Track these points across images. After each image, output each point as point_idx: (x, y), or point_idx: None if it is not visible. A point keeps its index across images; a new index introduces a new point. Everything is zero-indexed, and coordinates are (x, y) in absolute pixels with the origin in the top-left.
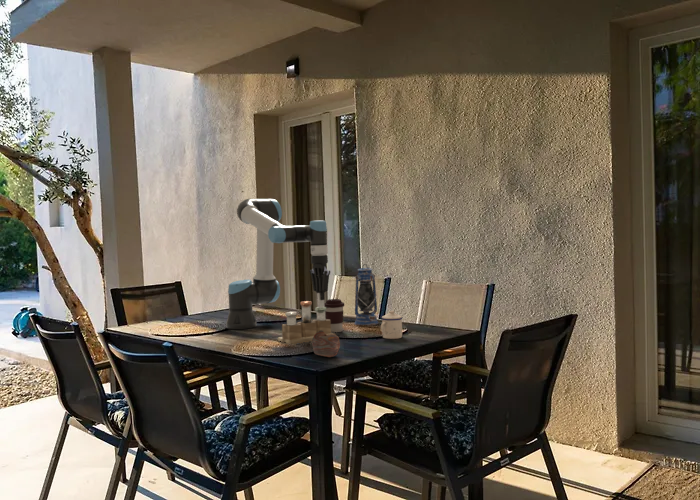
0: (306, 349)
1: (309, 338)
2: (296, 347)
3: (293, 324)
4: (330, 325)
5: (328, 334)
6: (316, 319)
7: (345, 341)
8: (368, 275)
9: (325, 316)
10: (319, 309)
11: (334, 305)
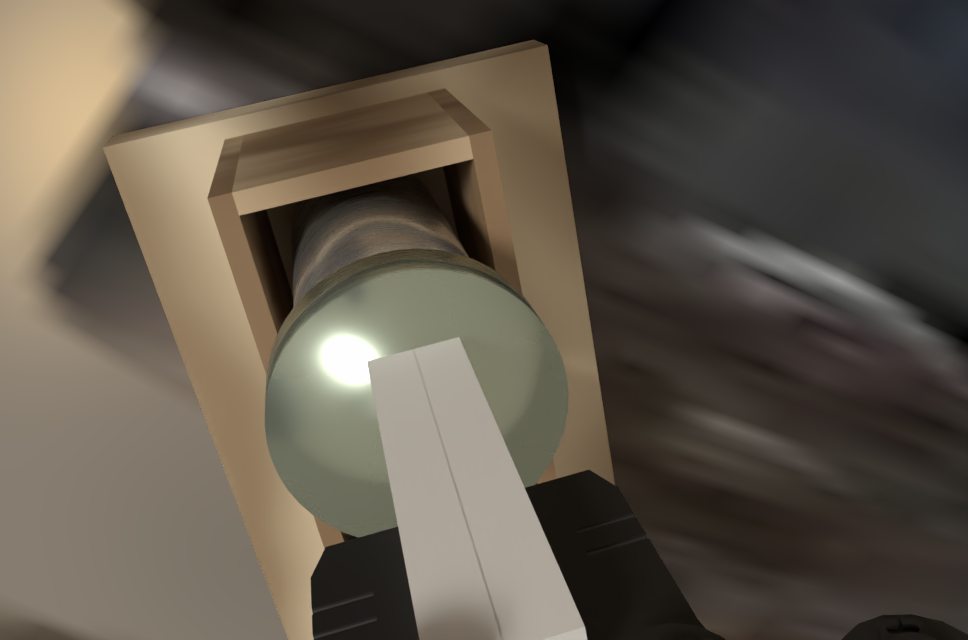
0: (909, 577)
1: (612, 475)
2: (769, 631)
3: None
4: (468, 113)
5: (529, 171)
6: (266, 350)
7: (880, 70)
8: None
9: (446, 241)
10: (527, 471)
11: None
